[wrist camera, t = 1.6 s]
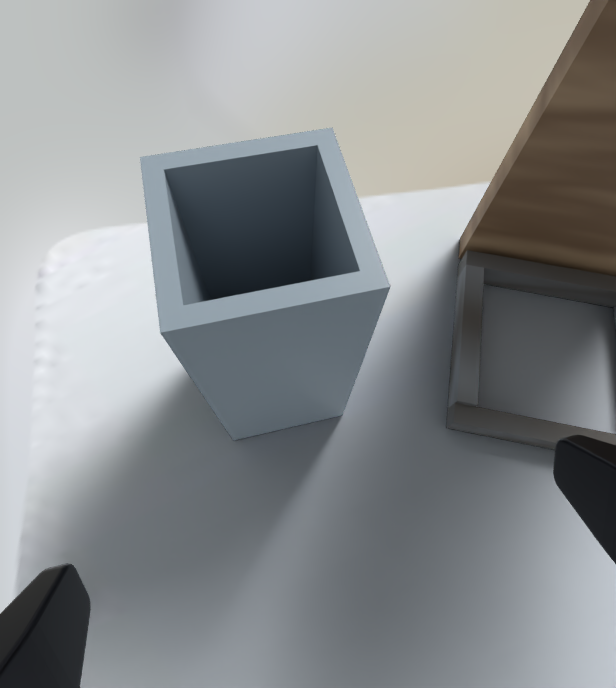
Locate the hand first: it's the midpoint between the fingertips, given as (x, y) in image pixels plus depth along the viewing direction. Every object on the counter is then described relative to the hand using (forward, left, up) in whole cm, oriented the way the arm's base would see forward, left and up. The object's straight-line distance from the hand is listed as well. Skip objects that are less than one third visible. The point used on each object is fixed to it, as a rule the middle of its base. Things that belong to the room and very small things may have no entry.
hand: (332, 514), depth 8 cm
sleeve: (+4, +7, -13) cm, 15 cm away
